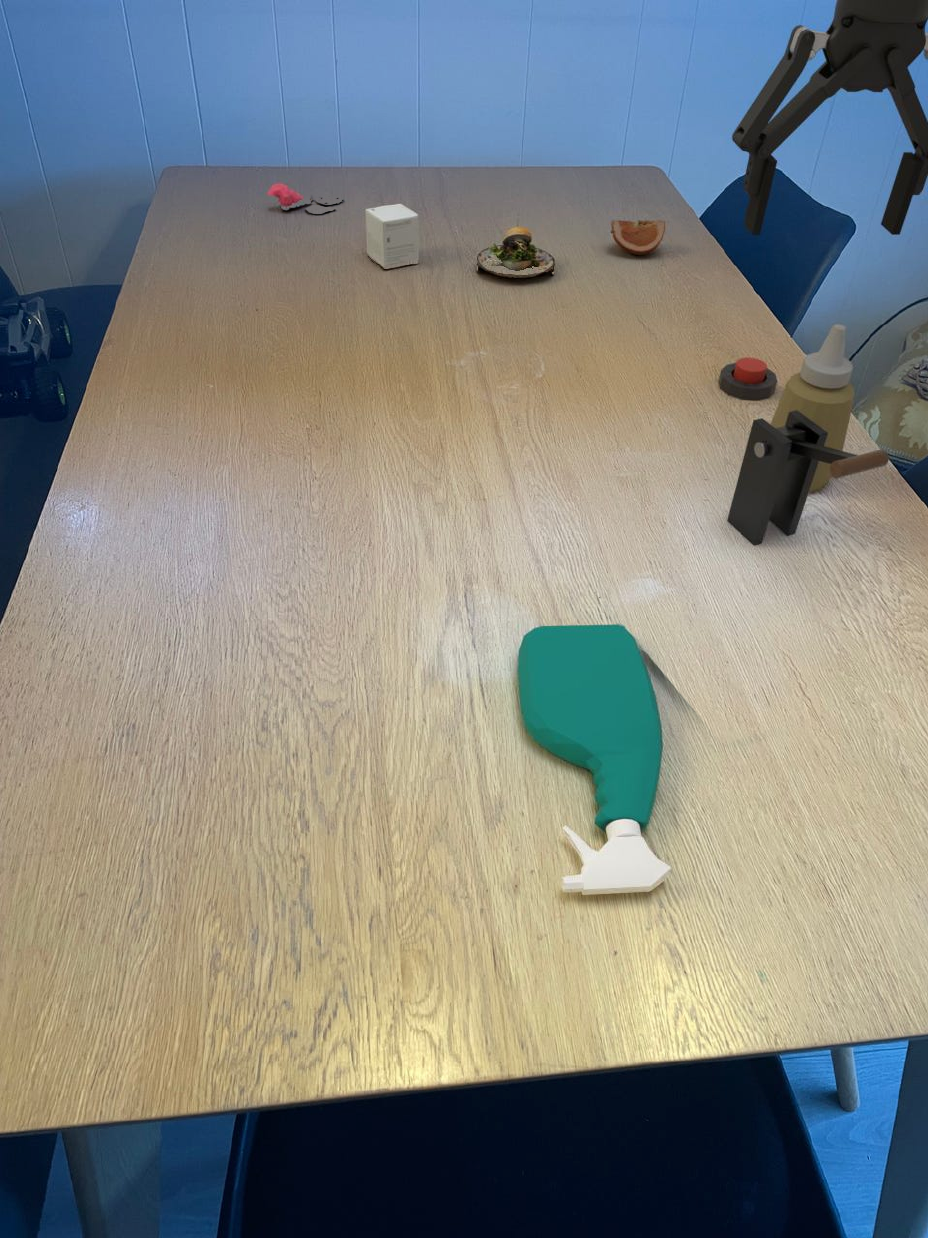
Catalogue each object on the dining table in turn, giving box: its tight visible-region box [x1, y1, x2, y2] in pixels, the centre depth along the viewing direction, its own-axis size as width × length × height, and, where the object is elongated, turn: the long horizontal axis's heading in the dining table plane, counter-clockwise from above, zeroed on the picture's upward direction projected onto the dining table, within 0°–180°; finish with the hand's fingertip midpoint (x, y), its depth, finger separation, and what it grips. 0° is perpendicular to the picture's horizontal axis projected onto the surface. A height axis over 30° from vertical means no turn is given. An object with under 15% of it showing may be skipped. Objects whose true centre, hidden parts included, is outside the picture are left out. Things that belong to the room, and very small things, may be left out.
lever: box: [776, 426, 889, 479], centre depth 82 cm, size 11×5×2 cm, turn 24°
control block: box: [718, 362, 778, 402], centre depth 112 cm, size 10×7×3 cm
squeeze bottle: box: [769, 323, 856, 493], centre depth 94 cm, size 8×8×18 cm
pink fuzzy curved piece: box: [266, 182, 304, 207], centre depth 159 cm, size 12×11×4 cm
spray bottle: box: [517, 624, 672, 896], centre depth 71 cm, size 3×11×24 cm
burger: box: [476, 213, 556, 279], centre depth 139 cm, size 12×12×8 cm
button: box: [733, 357, 768, 384], centre depth 112 cm, size 4×4×2 cm
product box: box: [365, 203, 420, 266], centre depth 141 cm, size 6×6×7 cm
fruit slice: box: [610, 219, 666, 256], centre depth 146 cm, size 8×7×5 cm
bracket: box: [726, 410, 828, 547], centre depth 89 cm, size 9×7×13 cm
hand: (821, 229), depth 89 cm, fingers open, 13 cm apart
